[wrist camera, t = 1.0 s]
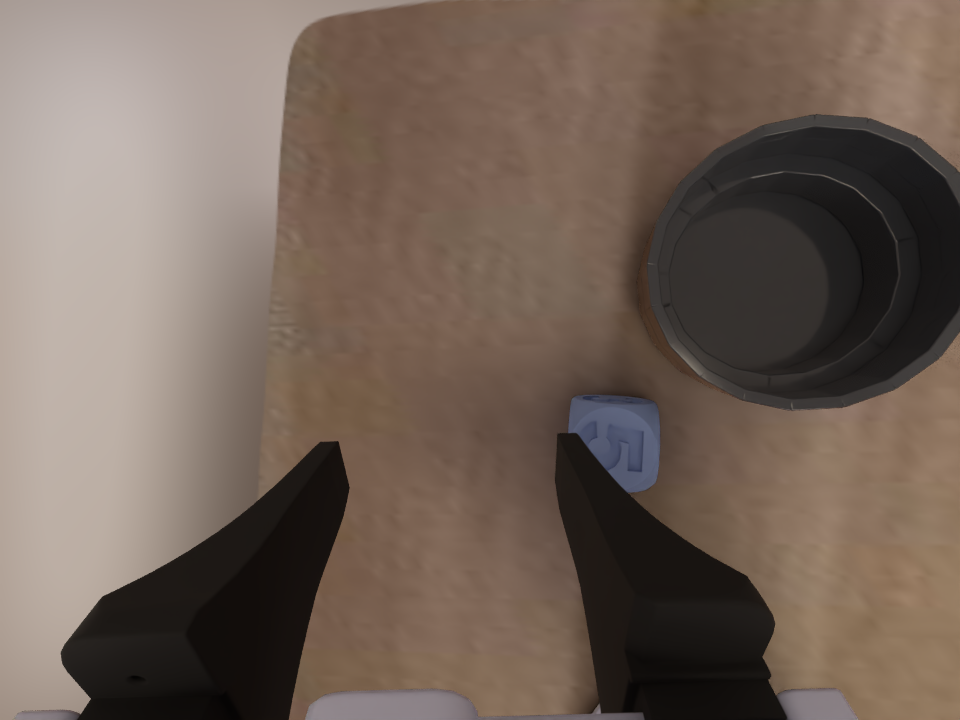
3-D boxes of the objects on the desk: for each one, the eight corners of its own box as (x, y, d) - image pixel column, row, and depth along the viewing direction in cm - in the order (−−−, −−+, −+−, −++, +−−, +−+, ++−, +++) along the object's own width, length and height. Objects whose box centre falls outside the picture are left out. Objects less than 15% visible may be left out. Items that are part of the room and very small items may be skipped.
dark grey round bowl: (941, 232, 20) (1064, 192, 15) (797, 436, 22) (860, 465, 16) (711, 135, 22) (746, 69, 17) (597, 326, 24) (596, 321, 19)
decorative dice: (648, 472, 24) (657, 497, 20) (571, 465, 25) (565, 487, 21) (651, 397, 23) (662, 407, 20) (573, 392, 24) (569, 401, 21)
